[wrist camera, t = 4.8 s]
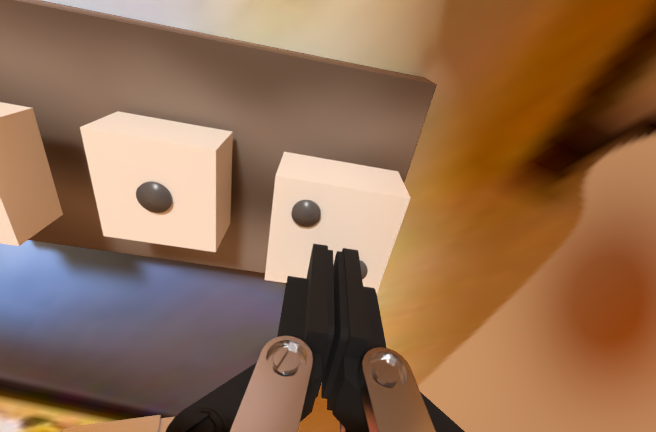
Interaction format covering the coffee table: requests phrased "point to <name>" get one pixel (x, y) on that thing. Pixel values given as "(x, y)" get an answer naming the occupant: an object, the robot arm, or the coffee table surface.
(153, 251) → the brown board
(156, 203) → the single pip block
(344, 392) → the robot arm
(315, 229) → the two pip cube
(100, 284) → the coffee table surface
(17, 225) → the three dot tile
